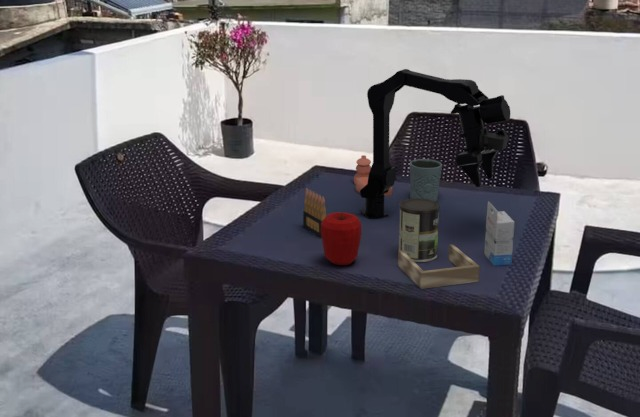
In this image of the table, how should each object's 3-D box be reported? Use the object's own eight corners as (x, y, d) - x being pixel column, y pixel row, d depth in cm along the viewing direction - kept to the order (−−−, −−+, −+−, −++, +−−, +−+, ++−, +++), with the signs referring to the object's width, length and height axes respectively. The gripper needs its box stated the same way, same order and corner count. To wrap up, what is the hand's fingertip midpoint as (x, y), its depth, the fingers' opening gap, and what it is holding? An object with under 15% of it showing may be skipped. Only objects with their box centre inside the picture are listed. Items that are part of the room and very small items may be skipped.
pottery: (392, 195, 256) (392, 166, 253) (364, 198, 253) (364, 168, 250) (373, 180, 272) (373, 152, 269) (347, 182, 270) (347, 154, 266)
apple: (314, 257, 205) (314, 208, 201) (350, 252, 209) (351, 203, 205) (330, 272, 196) (330, 221, 192) (367, 266, 200) (368, 215, 195)
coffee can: (438, 249, 211) (440, 198, 206) (436, 263, 201) (439, 211, 197) (399, 246, 213) (401, 196, 208) (396, 261, 203) (397, 209, 198)
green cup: (418, 192, 258) (419, 157, 254) (446, 198, 252) (447, 162, 248) (402, 200, 250) (403, 164, 246) (431, 206, 244) (432, 169, 240)
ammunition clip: (327, 237, 220) (327, 196, 216) (321, 238, 219) (321, 197, 215) (308, 226, 228) (308, 186, 224) (303, 227, 227) (302, 187, 224)
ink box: (512, 265, 200) (516, 210, 195) (493, 266, 199) (496, 211, 195) (501, 253, 208) (505, 199, 203) (483, 253, 207) (487, 200, 203)
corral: (397, 265, 200) (398, 250, 199) (452, 258, 204) (452, 244, 203) (421, 289, 187) (421, 273, 185) (478, 281, 191) (479, 266, 189)
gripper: (488, 128, 201) (501, 187, 204) (512, 115, 216) (523, 170, 219) (448, 135, 207) (461, 192, 210) (474, 122, 222) (485, 175, 225)
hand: (484, 182), depth 216 cm, fingers open, 9 cm apart
